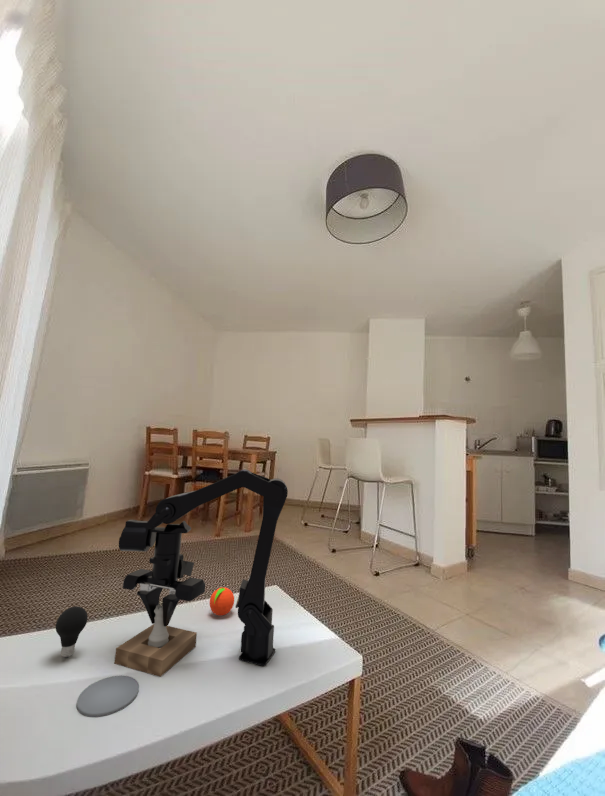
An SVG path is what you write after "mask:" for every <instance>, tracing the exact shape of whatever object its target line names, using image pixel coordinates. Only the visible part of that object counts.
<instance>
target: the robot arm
mask: <svg viewBox="0 0 605 796" xmlns="http://www.w3.org/2000/svg"><path fill="white" fill-rule="evenodd" d="M240 488H241V489H242V488H245V489H247V490H248V491H251V492H253V493H254V494H257V495H259V496H262V497H263V498H262V500H263V501H262V520H261V525H260V529H259V535H258V537H257V544H256V547H255V553H254V557H253V563H252V567H251V571H250V575H249V577H248V579H244V578H242V580H241V583H240V586H239V591H238V597H237V600H236V604H235V609H237V617H238V618H239V621H240V622H241V623H243V624H244V626H243V631H242V632H241V637H240V639H241V640H240V655H239V656H238V660H239V661H242V662H246V663H250V664H254V665H257V666H258V665H259V666H263V667H265V666H267V664H268V663H269V661H270V660H271V659H272V657H273V655H274V654H275V653H276V648H274V635H275V634H274V632H275V625H274V624H273V608H272V606H271V605H270V604H269V603H268V602H267V601H266V576H267V571H268V567H269V563H270V556H271V553H272V548H273V542H274V537H275V533H276V528H277V523H278V521H279V517H280V515H281V513H282V511H283V507H284V505H285V503H286V501H287V497H288V486H287V484H286V482H285V481H284V480H283V479H281V478H271V479H270V478H269V477H265V476H263V475H260V474H257V473H254V472H252V471H250V470H249V469H241V470H239V471H238V472H236V473H235V474H232V475H229V476H227V477H224V478H222V479H220V480H218V481H215V482H213V483H211V484H208V485H206V486H204V487H202V488H199V489H197V490H192V491H188V492H183V493H179V494H175V495H174V494H173V495H171V496H169V497H166V498H163V499H162V500H160V501H159V502H157V505H156V508H155V513H154V514H152V516H151V517H150V519H148V520H137V519H129V520H126V521H125V526H124V528H123V530H122V531H121V534H120V536H119V538H118V549H119V551H120V552H121V551H122V552H146V553H147V552H148V551H149V550H150V548H153V547H154V551H153V556H152V557H150V558H149V561H148V562H149V564H152V570H150V569H149V570H148V569H143V568H140V569H137V570H135V571H132V572H130V573H128V574H127V575H125V577H124V579H123V582H122V583H123V584H122V589H125V590H128V591H133V590H135V589H136V587H137V585H139V590H138V591H137V592H136V595H137V596H139V598H140V599H141V602H142V603H143V606H144V608H145V610H146V613H147V615H148V618H149V620H150V623H151V625H153V624H154V623H155V619H154V617H155V615H156V614H155V613H154V610H155V608H156V605H158V604H160V597H161V594H162V591H163V589H165V590H169V592H168V594H167V595H166V596H164V597H162V603H163V623H164V626H165V627H166V626H169V624H170V623H171V622H170V621H171V619H172V617H173V615H174V612H175V610H176V608H177V605H178V604H179V602H180V601H186V602H192V601H193V600H195V599H196V598H198V597H199V596H201V595H202V594H204V593H206V582H205V580H204V579H201V578H196V577H191V575H192V573H193V568H194V565H195V562H194V561H188V560H184V554H183V553H181V547H182V546H181V545H182V544H181V543H182V535H183V534H187V533H189V532H190V531H191V530H192V527H191V526H190V525H189V524H188V523H187V521H186V520H183V521H181V522H180V523H175V522H176V521H177V520H179V519H181V518H182V517H184V516H185V515H187V514H188V513H189V512H191V511H193V510H195V509H196V508H198V507H199V506H202V505H203V504H206V503H208V502H210V501H213V500H215V499H217V498H219V497H222V496H224V495H227V494H230V493H231V492H234V491H237V490H239V489H240ZM162 524H165V526H163V527H162V526H161V527H160V525H162ZM184 575H186V576H187V577H188V578H187V579H184V580H181V581H179V580H178V579H182V578H184Z"/></svg>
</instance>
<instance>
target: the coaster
mask: <svg viewBox="0 0 605 796" xmlns="http://www.w3.org/2000/svg"><path fill="white" fill-rule="evenodd" d="M139 688H140V685H139V682H138V680H137V679H135V678H134V677H132V676H129V675H123V674H122V675H120V674H119V675H113V676H108V677H104V678H101V679H99V680H97V681H94V682H93V683H91V684H90V685H88V686H87V687H86V688H84V689H83V690H82V691H81V692H80V694H79V695H78V697H77V700H76V701H77V702H76V710H77V711H78V712H79V714H81V715H83V716H85V717H92V718H97V717H105V716H108V715H112V714H116V713H117V712H119V711H121V710H123V709H125V708H127V707H128V706H129V705H131V703H133V702H134V700H135V699H136V698H137V696H138V694H139Z"/></svg>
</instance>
